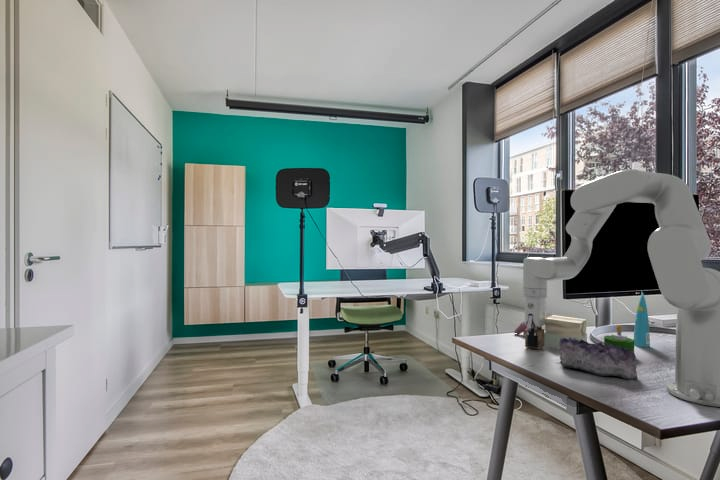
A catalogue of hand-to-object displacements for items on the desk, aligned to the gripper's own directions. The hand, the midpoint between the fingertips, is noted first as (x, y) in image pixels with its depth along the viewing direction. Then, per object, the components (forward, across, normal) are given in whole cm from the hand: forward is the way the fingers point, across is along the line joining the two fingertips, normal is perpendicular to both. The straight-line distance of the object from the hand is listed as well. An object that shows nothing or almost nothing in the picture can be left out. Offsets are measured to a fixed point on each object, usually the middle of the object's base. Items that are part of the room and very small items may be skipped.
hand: (534, 344), depth 135 cm
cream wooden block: (-3, +10, -8) cm, 13 cm away
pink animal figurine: (+1, +14, +6) cm, 15 cm away
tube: (+2, +29, -28) cm, 41 cm away
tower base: (+2, +10, -8) cm, 13 cm away
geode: (+2, -12, -20) cm, 23 cm away
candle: (+2, +10, -24) cm, 26 cm away
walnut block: (+1, 0, 0) cm, 1 cm away
